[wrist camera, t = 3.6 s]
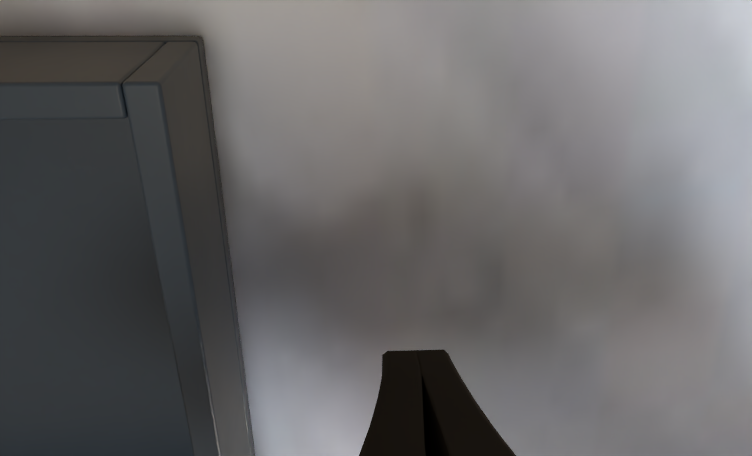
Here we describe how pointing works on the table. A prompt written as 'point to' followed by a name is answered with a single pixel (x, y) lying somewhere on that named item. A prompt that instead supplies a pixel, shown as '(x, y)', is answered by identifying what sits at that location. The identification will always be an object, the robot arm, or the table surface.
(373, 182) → the table surface
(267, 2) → the table surface
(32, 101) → the tray
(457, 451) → the robot arm
